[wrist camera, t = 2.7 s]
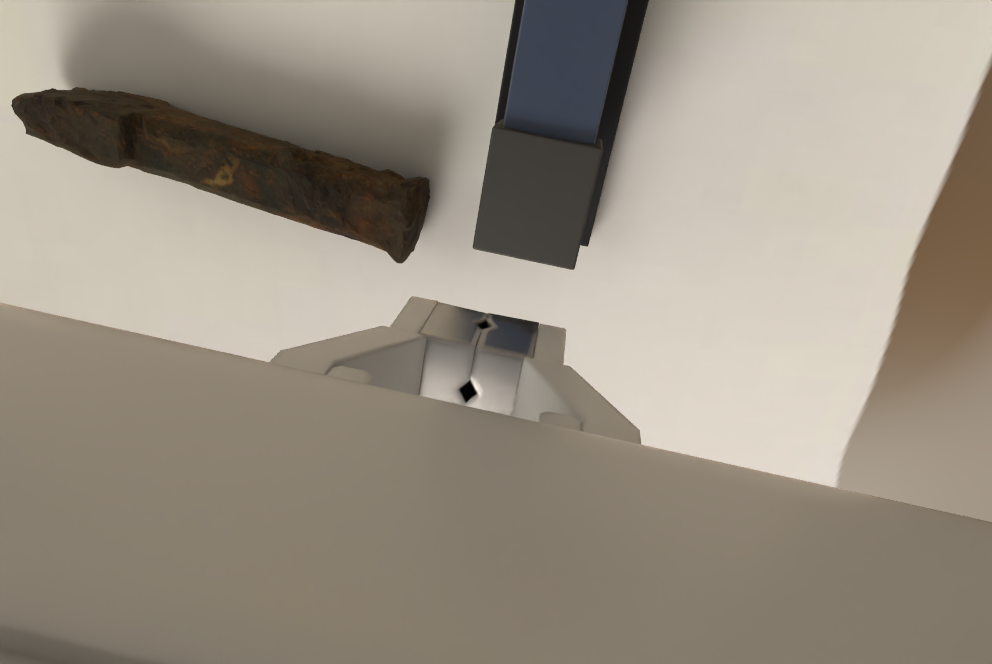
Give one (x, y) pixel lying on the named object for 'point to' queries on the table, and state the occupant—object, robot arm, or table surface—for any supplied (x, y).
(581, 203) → the stapler arm
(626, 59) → the stapler
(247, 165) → the hand tool
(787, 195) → the table surface
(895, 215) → the table surface
